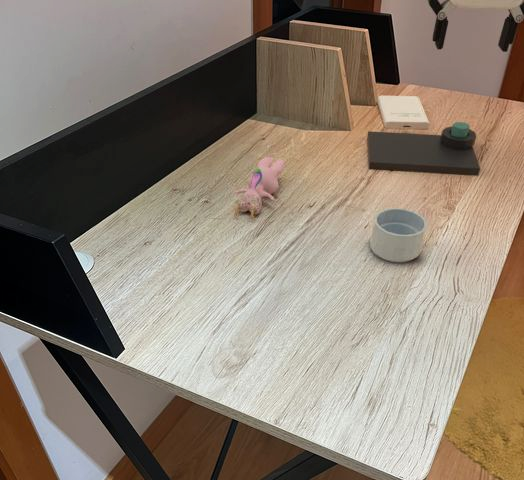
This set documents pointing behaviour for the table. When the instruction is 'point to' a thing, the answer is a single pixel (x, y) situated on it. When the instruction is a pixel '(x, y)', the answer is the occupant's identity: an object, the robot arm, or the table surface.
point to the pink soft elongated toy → (260, 186)
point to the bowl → (398, 234)
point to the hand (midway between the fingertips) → (470, 47)
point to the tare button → (460, 129)
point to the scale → (423, 152)
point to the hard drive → (402, 112)
